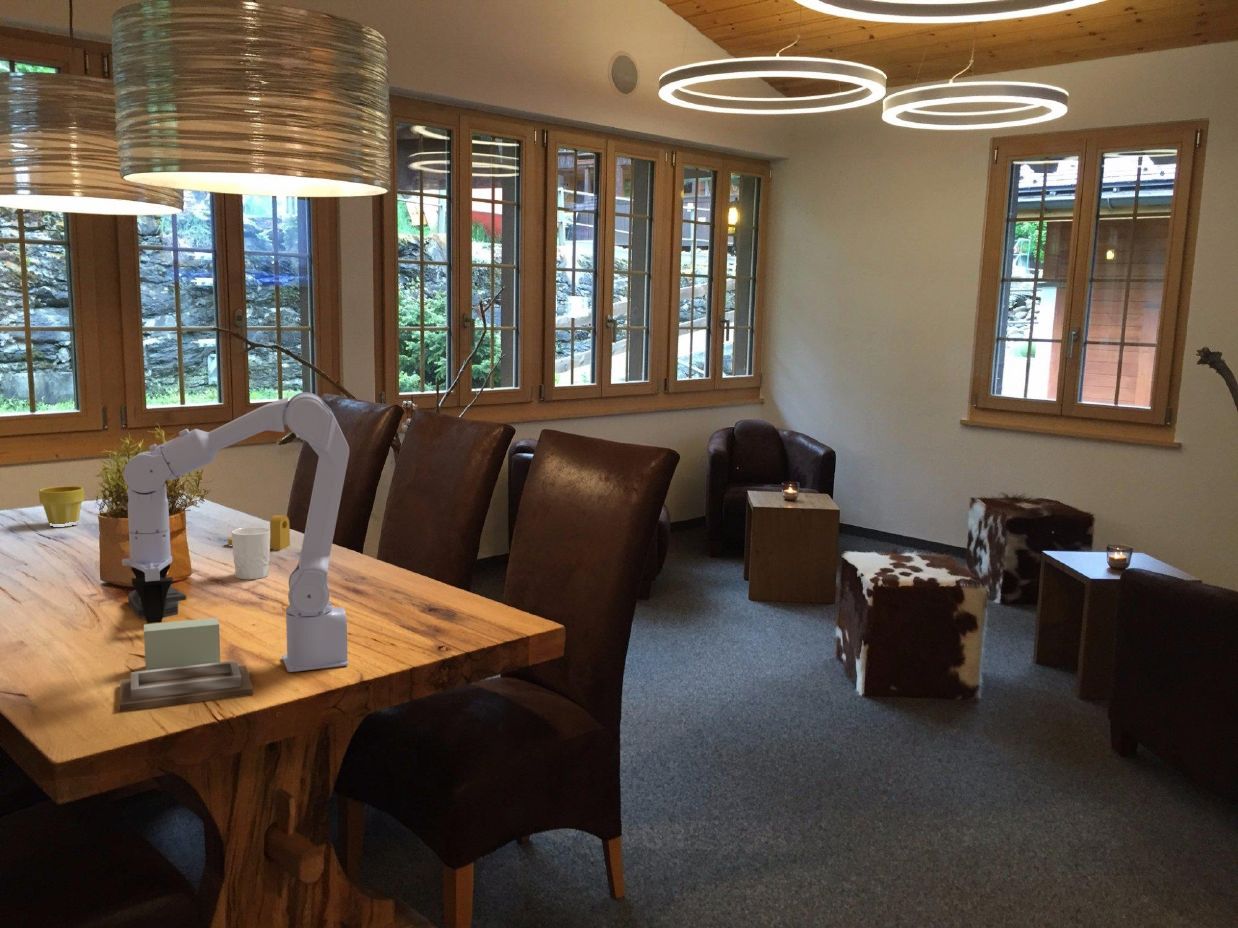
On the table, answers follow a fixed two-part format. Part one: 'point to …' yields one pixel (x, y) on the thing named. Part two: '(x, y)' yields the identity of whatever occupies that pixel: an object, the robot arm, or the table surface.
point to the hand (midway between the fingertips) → (153, 615)
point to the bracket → (277, 533)
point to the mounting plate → (184, 685)
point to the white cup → (251, 552)
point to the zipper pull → (169, 608)
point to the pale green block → (181, 643)
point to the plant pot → (62, 503)
